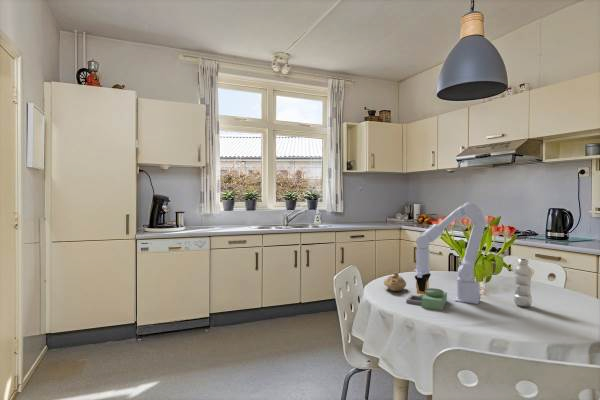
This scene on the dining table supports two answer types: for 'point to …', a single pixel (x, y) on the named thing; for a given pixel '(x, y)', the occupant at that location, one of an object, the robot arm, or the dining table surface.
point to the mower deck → (430, 299)
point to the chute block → (425, 288)
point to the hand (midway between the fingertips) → (422, 290)
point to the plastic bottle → (523, 284)
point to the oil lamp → (395, 282)
